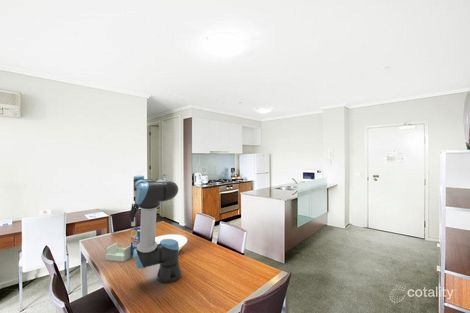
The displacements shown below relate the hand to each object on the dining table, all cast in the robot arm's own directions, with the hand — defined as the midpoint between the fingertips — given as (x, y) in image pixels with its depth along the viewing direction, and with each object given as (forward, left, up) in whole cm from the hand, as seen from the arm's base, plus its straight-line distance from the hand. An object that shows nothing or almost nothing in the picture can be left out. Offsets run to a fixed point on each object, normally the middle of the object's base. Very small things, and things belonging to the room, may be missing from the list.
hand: (139, 223), depth 164 cm
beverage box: (0, 0, -27) cm, 27 cm away
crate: (+14, +2, -27) cm, 30 cm away
